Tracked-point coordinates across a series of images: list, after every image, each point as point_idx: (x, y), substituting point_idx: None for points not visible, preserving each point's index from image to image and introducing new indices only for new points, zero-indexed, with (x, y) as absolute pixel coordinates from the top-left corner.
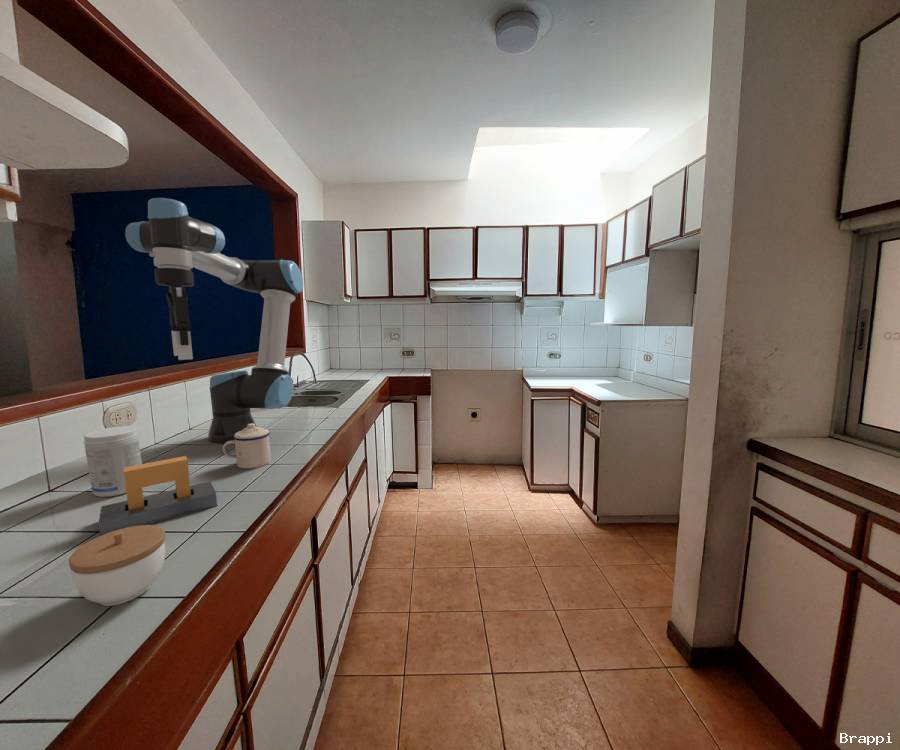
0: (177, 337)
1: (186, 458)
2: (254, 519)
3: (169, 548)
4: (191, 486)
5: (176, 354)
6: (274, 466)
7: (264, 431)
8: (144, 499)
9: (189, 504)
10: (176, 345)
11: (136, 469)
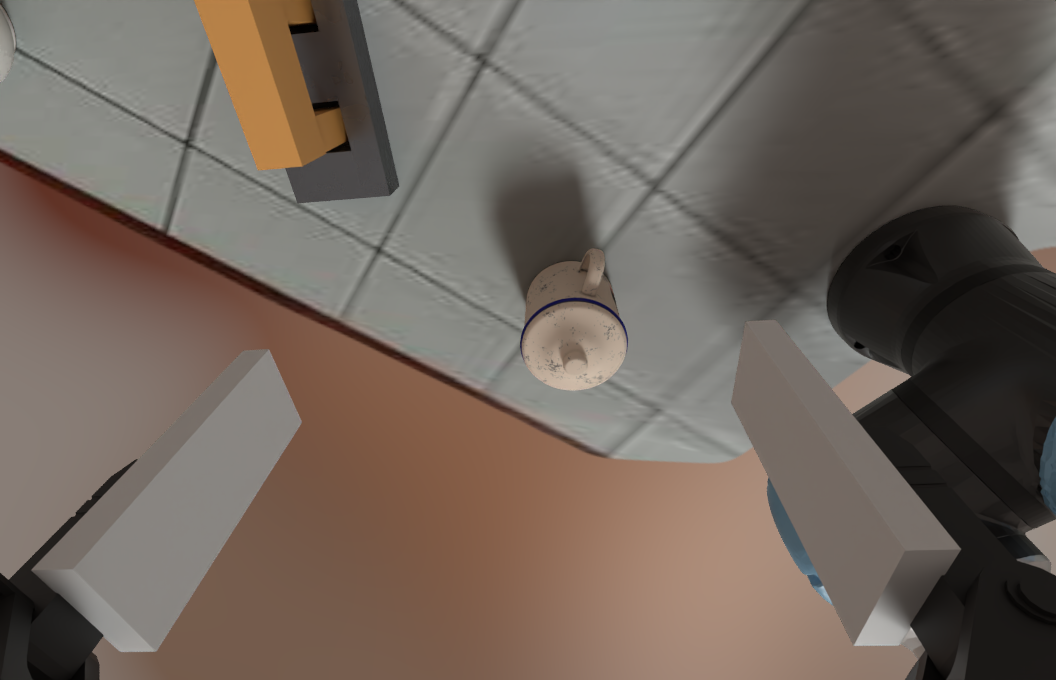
0: (104, 508)
1: (271, 167)
2: (214, 254)
3: (124, 92)
4: (372, 148)
5: (746, 344)
6: (511, 335)
7: (551, 381)
8: (323, 22)
9: None
10: (782, 410)
11: (199, 13)
